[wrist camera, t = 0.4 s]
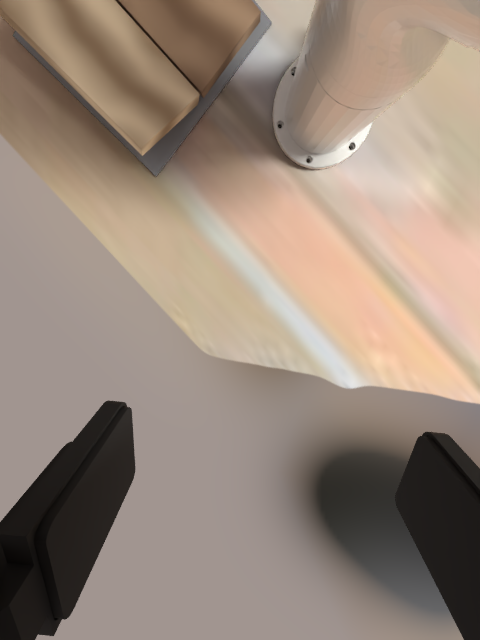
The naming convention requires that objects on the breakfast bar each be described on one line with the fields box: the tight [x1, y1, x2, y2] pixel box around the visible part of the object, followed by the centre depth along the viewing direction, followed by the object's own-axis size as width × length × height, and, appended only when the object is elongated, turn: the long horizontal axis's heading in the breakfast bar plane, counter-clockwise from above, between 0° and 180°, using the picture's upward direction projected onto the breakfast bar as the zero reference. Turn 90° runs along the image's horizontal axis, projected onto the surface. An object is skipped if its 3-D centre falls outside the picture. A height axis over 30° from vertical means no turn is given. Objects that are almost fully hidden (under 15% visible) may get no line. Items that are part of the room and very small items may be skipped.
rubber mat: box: [13, 0, 272, 177], centre depth 32 cm, size 22×22×1 cm
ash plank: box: [0, 0, 200, 156], centre depth 31 cm, size 10×20×2 cm, turn 46°
